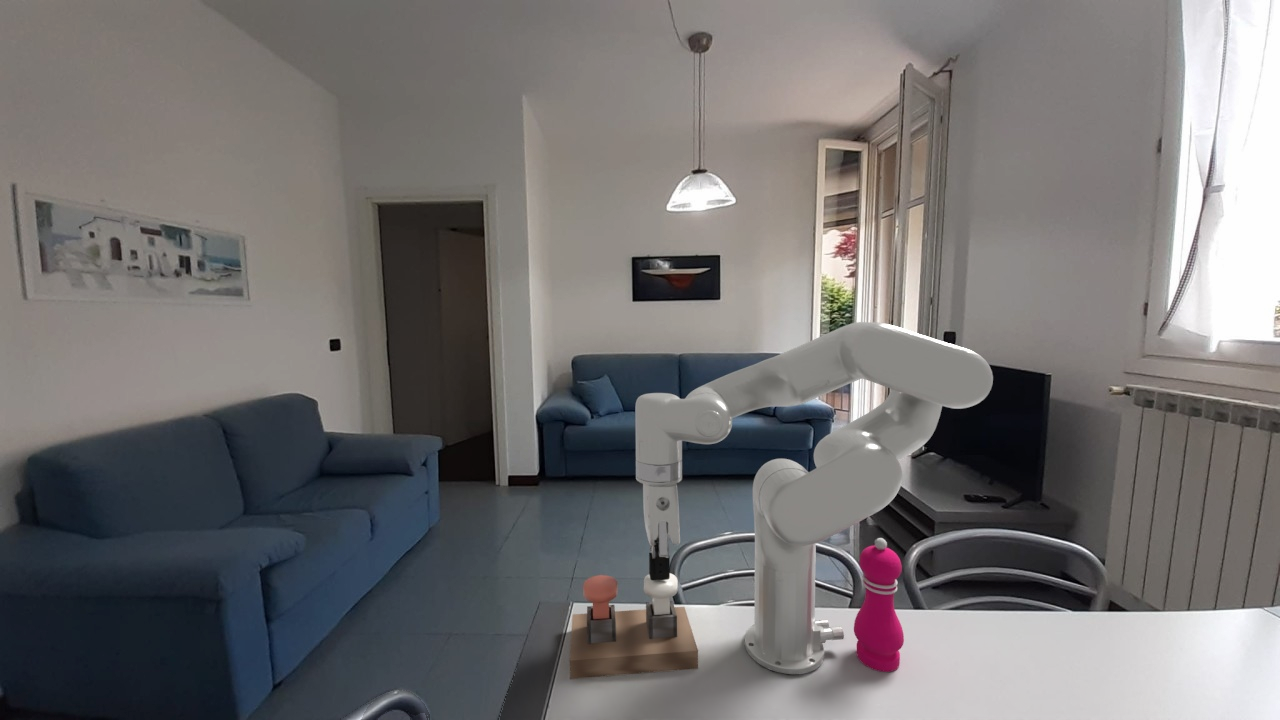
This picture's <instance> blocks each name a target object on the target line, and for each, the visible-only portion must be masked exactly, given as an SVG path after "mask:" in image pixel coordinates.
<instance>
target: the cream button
mask: <svg viewBox="0 0 1280 720" xmlns="http://www.w3.org/2000/svg"><path fill="white" fill-rule="evenodd" d="M678 584H679V583H678V577H677V576H676V575H675V574H674V573H671V572H670V578H669V579H668V580H651V579H650V575H649V573H648V574H647V575H646V576H644V579H643V592H644V593H645V594H646V595H647V596H648V597H650V598H652V599H651V600H652V601H651V602H652V606H653V611H654V615H663V614H670V601H671V599H670V598H673V597H674V596H676V594H677V593H678V591H679V588H678Z"/></svg>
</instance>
